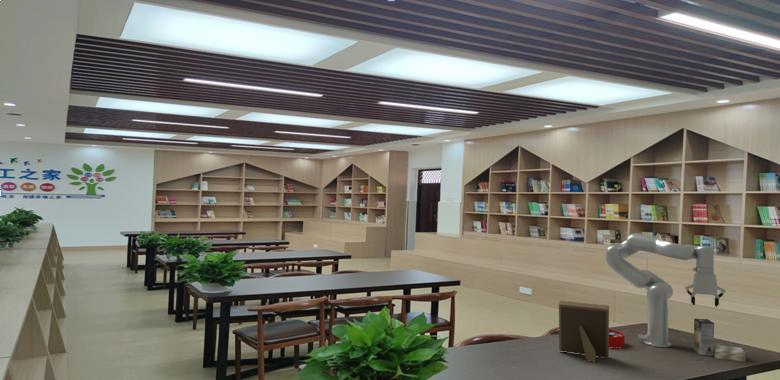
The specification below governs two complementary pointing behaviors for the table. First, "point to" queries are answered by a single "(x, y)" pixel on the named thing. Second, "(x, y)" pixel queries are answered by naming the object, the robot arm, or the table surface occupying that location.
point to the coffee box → (704, 337)
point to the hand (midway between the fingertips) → (704, 305)
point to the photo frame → (584, 329)
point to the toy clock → (616, 339)
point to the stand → (729, 353)
